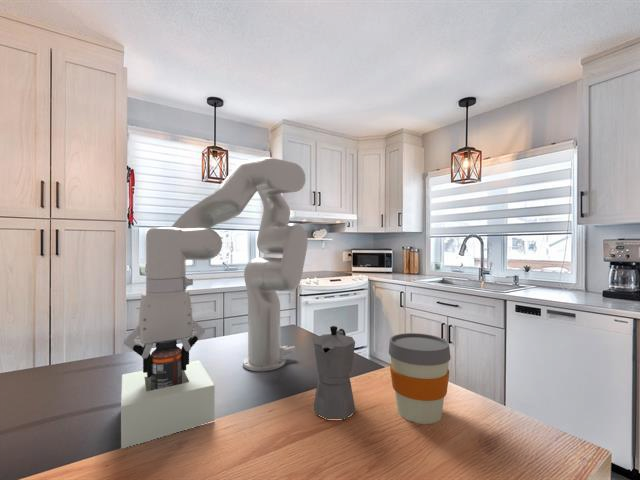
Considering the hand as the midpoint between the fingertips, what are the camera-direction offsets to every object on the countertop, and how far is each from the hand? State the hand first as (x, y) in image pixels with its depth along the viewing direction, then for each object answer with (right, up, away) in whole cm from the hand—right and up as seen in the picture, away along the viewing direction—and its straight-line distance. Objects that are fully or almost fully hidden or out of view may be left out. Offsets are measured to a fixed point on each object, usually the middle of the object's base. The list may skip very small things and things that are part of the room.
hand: (166, 371), depth 67 cm
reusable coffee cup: (+53, -9, +1) cm, 54 cm away
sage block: (0, -9, 0) cm, 9 cm away
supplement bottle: (0, -5, 0) cm, 5 cm away
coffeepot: (+36, -9, +3) cm, 37 cm away
